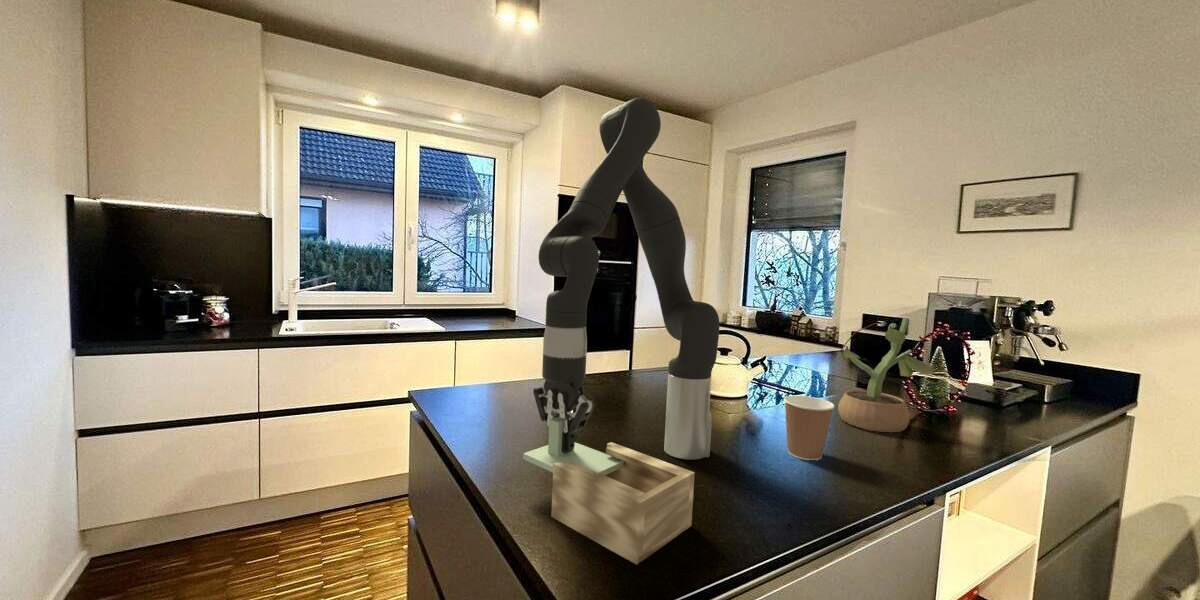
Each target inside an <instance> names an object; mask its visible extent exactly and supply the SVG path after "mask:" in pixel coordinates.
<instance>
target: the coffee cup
mask: <svg viewBox="0 0 1200 600" xmlns="http://www.w3.org/2000/svg"><path fill="white" fill-rule="evenodd" d="M783 402H785V403H784V405H785V406H784V407H785V425H786V428H785V429H786V444H787V445H786V446H787V451H788V454H789V455H791V457H794V458H797V459H800V460H803V461H809V460H816V461H819V459H820V460H821V459H822V458H823V454H824V452H825V448H826V443H827V438H828V432H829V428H830V424H831V419H832V415H833V409H834V408H835V404H834V403H833V402H831V401H828V400H826V399H824V398H823V399H822V398H819V397H813V396H806V395H787V396H785V397H784V398H783Z"/></svg>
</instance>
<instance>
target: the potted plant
mask: <svg viewBox="0 0 1200 600" xmlns="http://www.w3.org/2000/svg"><path fill="white" fill-rule="evenodd" d="M908 323H909V319H908V318H902V321H901V324H900V327H899V329H898V330H897V329H895V328H897V324H896V323H890V324H889V325H888V327H887V330H886V332H885V333H884V338H885V339H886V340H888V342H890V350H889V351H888V352H887V353H886V354H885V355H884V356H882V357H881V361H880V362H879V363H878V364H877V365H876V366H875V368H874V369H873V368H872V367H870V366H869V365H867V364H865V363H864V362H862V361H861V360H862V358H861V357H860V356H859V355H857V354H856V353H855V352H852V351H851V350H850V349H849V346H848V345H846V346H845V351H843V357H846V358H849V360H850V361H851V362H852V363H853V364H854V365H855V366H857V367H858V368H859V369H861V370H863V371H864V372H865V373H867V374H868V375H870V379H869V381H868V385H867V387H866V388H867V390H860V389H859V390H858V389H857V390H848V391H845V392H844V394H843V396H842V397H841V398H840V401H839V402H838V406H837V408H838V409H837V410H838V415H839V417H840V419H841V421H843V420H844V422H845V423H846V422H847V423H849V424H851V425H854V426H856V427H860V428H863V429H868V430H873V431H881V432H898V433H900V432H902V431H904V430H906V429H907V427H908V425H909V423H910V417H911V416H910V411H909V409H908V407H907V403H906V401H905V400H904V399H903V398H900V397H898V396H896V395H895V396H894V395H891V394H888V393H882V391H883V390H882V388H883V382H884V380H885V377H886V375H887V372H888V370H889V369H890V368H892V367H893V366H894V365H896V364H898V367H899V376H900V377H906V378H907V377H908V378H909V377H911V376H913V371H915V372H916V373H920V374H923V375H933V376H935V375H936V373H935V372H934V368H933V366H932V365H930V364H929V363H927V362H925V361H923V360H922V361H921V360H919V359H917V358H914V357H912V356H910V354H911V353H912V349H908V350H906V351H904V352H902V353H901V354H899V353H900V352H901V349H902V346H903V344H904V343H905V341H906V336H905V335H906V331H907V328H908ZM847 423H846V424H847ZM849 424H848V425H849ZM851 425H850V426H851ZM856 427H855V428H856ZM863 429H862V430H863Z"/></svg>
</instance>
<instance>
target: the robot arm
mask: <svg viewBox="0 0 1200 600" xmlns="http://www.w3.org/2000/svg"><path fill="white" fill-rule="evenodd" d="M661 125H662V122H661V117H660V114H659V111H658V109H657V107H656V106H655V104H653V102H652V101H650V100H649V99H647V98H645V97H635V98H632V99H630V100H628V101H626V102H624V103H622V104H620V105H618V106H616V107H614V108H612V109H611V110H610V109H609V111H607V112H606V113H604V114H603V116H602V117H601V118H600V121H599V134H600V135H599V136H600V140H601V144H602V145H603V148H604V150H605V152H606V155H605V157H604V158H603V159H602V160H601V161H600V163H599V164H598V165H597V166H596V167H595V168H594V169H593V170H592V172H591V173H590V174H588V176H587V178H586V179H585V180H584V181H583V183H582V185H581V186H580V187H579V190H578V192H577V193H576V195H575V197H574V199H573V201H572V203H571V205H570V206H569V207H570V208H569V209H568V211H567V212H566V213H565V214H564V215H563V216H562V217H561V218H560V219H559V220H558V221H557V223H556V224H555V225H554V226H553V227H552V228H551V229H550V231H548V233H546V236H545V237H544V238H543V240H542V241H541V244H540V247H539V250H538V264H539V266H540V269H541V270H542V271H543V272H544V273H545V274H546V275H548V276H552V277H562V278H566V280H565V283H564V286H563V288H562V289H561V290H555V291H552V292H550V293H549V294H548V295H547V298H546V301H545V302H546V303H545V329H544V333H543V340H542V341H543V342H542V346H543V347H542V368H541V369H542V370H541V373H542V375H541V376H542V378H543V379H544V383H543V386H539V387H536V388H534V389H533V391H532V392H533V396H534V399H535V403H536V407H537V410H538V415H539V417H540V420H541V421H542V422H546V424H547V427H548V428H549V419H552V418H556V417H559V416H560V418H561V419H562V429H563V432H562V452H563V453H568V452H571V451H572V450H573V449H574V446H575V440H576V432H578V431H580V430H583V429H585V427H586V426H587V423H588V421H589V419H590V417H591V415H592V413H593V412H594V409H595V408H596V401H595V400H594V399H592V400H589V399H588V398H587V397H586V396H585V391H584V388H583V383H584V381H585V379H586V376H587V375H586V374H587V373H586V372H587V352H588V351H587V350H588V336H587V335H588V334H587V316H588V302H589V299H590V295H591V292H592V290H593V289H592V288H593V286H594V282H595V279H596V275H597V273H598V269H599V266H600V265H599V263H600V253H599V249H598V246H597V243H595V241H594V240H593V238H595V237H597V236H599V235H601V234H602V233H603V230H605V227H606V226H607V223H608V221H609V220H610V217H611V214H612V213H613V210H614V209H615V206H616V204H617V202H618V200H619V197H620V196H621V193H622V192H623V194H624V198H625V201H626V203H627V206H628V208H629V211H630V215H631V217H632V219H633V223H634V227H635V230H636V232H637V237H638V239H639V242H640V244H641V245H640V246H641V247H642V251H643V253H644V256H645V258H646V262H647V265H648V269H649V271H650V273H651V276H652V280H653V283H654V286H655V289H656V292H657V298H658V302H659V306H660V311H661V316H662V319H663V324H664V327H665V329H666V330H667V333H668V334H669V335H670V336H671V337H672V338H673V339H675V340H677V341H680V342H679V350H678V354H677V356H676V357H674V358H671V359H670V360H669V361H668V367H667V368H668V371H667V372H668V373H667V374H668V375H667V386H666V387H667V390H666V409H665V422H664V423H665V427H664V440H663V442H664V445H663V446H664V447H663V449H664V452H665V453H666V454H668V456H671V457H674V458H677V459H682V460H701V459H703V458H709V457H710V455H711V454H710V452H711V439H712V438H711V437H712V419H713V414H712V412H711V411H710V405H711V403H710V402H711V400H710V399H711V388H712V386H711V385H712V384H711V383H712V374H713V373H712V372H713V368H714V366H715V364H716V361H717V357H718V356H717V355H718V347H719V340H720V339H719V337H720V317H719V314H718V311H717V310H716V308H715V307H714V306H713V305H711V304H710V303H707V302H705V301H704V302H703V301H697V300H694V299H693V297H692V294H691V292H690V289H689V285H688V283H687V280H686V274H685V260H686V250H687V243H686V242H687V240H686V234H685V230H684V228H683V225H682V221H681V218H680V216H679V213H678V209H677V207H676V206H675V204H674V203H673V202H672V200H671V199H670V198H669V197H668V196H667V195H666V194H665V193H664V192H663V191H662V190H661V188H659V187H658V186H657V185H656V184H655V183H654V182H653V181H652V180H651V178H649V176H648V175H647V173H646V170H645V169H644V167H643V164H642V161H643V159H644V158H645V157H646V155H647V153H648V152H649V151H650V149H651V148H652V146H653V145H654V144H655V142H656V141H657V140H658V137H659V136H660V131H661ZM545 408H546V409H545ZM569 419H570V424H569Z"/></svg>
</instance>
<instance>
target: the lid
mask: <svg viewBox="0 0 1200 600" xmlns="http://www.w3.org/2000/svg"><path fill="white" fill-rule="evenodd" d="M569 424H570V419H569ZM562 432H563V429H562V419H561V418H560V416H559V417H556V418H552V419H549V427H548V444H547V445H544V446H541V447H539V448H536V449H532V450H529V451H527V452H524V453H523V454H522V455H523V456H522V459H523V460H525V461H527V462H529V463H531V464H533V465H535V466H538V467H540V468H542V469H545V470H546V471H548V472H550V473H552V474H553V464H555V463H557V462H560V463H563V464H566V463H569V462H571V461H572V462H574V463H576V464H579V465H581V466H583V467H586V468H588V469H590V470H593V471H595V472H597V473H600V474H602V475H604V476H605V475H607V474H609V473H611V472H614V471H616V470H618V469H620V468H622V467H624V461H623V460H620V459H618V458H615V457H612V456H610V455H607V454H606V452H602V451H599V450H597V449H594V448H591V447H588V446H586V445H583V444H581V443H577V442H575V446H574V449H573V450H572V451H571V452H568V453H563V452H562Z"/></svg>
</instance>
